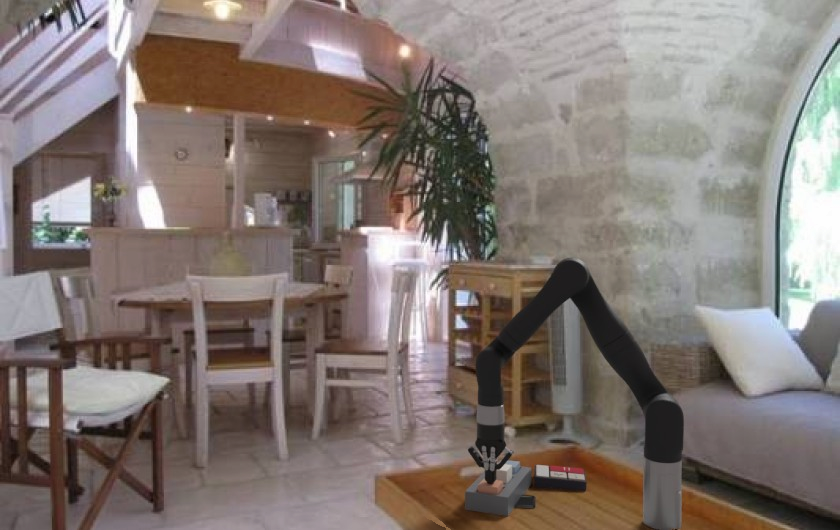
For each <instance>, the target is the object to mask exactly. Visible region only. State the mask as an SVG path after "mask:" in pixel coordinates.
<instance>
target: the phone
mask: <svg viewBox="0 0 840 530" xmlns="http://www.w3.org/2000/svg"><path fill="white" fill-rule="evenodd" d="M536 503H537V501H536V496H535V495H530V494H529V495H528V494H524V495H522V496H521V497H520V499H519V500H518V501H517V503H516V504H515V507H521V508H520V509H536V506H537V505H536ZM515 507H514V508H515Z"/></svg>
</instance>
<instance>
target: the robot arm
mask: <svg viewBox="0 0 840 530" xmlns="http://www.w3.org/2000/svg"><path fill="white" fill-rule="evenodd" d="M569 299H570V301H572V303H573V304H574V306H575V307H576V308H577V310H578V311H579V312H580V314H581V317H582V319H583V321H584V324H585V326H586V328H587V330H588V332H589V334H590V336H591V338H592V340H593V342H594V343H595V345H596V347H597V348H598V350H599V351H600V353H601V354H602V356H603V357H604V359H605V361H606V362H607V363H608V365H609V367H611V369H612V370H613V371H614V372H615V373H616V374H617V375H618V376H619V377H620V378H621V380H622V381H623V382H624V383H625V384H626V385H627V386H628V387H629V389H630V391H631V392H632V394H633V396H634V397H635V399H636V401H637V404H638V405H639V407H640V409H641V411H642V413H643V417H644V444H643V482H642V483H643V486H642V487H643V489H642V490H643V491H642V492H643V493H642V495H643V496H642V498H643V499H642V502H643V503H642V504H643V505H642V509H643V510H642V516H643V517H642V522H643V524H644V525H645V526H647V527H649V528H651V529H655V530H658V529H659V530H671V529H680V528H682V508H683V506H682V503H683V502H682V498H683V497H682V495H683V494H682V493H683V491H682V490H683V487H682V486H683V485H682V466H683V465H682V462H683V461H682V457H683V456H682V455H683V450H684V437H685V436H684V433H685V432H684V430H685V419H684V411H683V409H682V407H681V405H680V404H679V402H678V401H677V400H676V399H675V397H674V396H673V395H672V394H671V393H670V392H669V391H668V389H667V388H666V386H664V385H663V384H662V382H661V381H660V379H659V378H658V377H657V376H656V374H655V373H654V371H653V369H652V368H651V365H650V364H649V362H648V360H647V357H646V356H645V353H644V352H643V349H642V348H641V346H640V344H639V343H638V341H637V339H636V338H635V337H634V335H633V334H632V332H631V330H630V329H629V328H628V326H627V325H626V324H625V322H624V321H623V320H622V318H621V317H620V316H619V314H618V313H617V312H616V310H615V309H614V308H613V307H612V306H611V305H610V303H609V302H608V301H607V300H606V299H605V297H604V295H603V294H602V292H601V291H600V289H599V287H598V285H597V283H596V281H595V280H594V278H593V276H592V274H591V272H590V270H589V267H588V266H587V264H586V263H585V262H584V261H583V260H581V259H579V258H577V257H566V258H563V259H561V260H560V261H559V262H558V263H557V264H556V265H555V267H554V268H553V272H552V273H551V275H550V276H549V277H548V279H547V281H546V282H545V284H544V285H543V287H541V289H540V290H539V291H538V293H537V294H536V295H535V296H534V297H533V298H532V299H531V300H530V301H529V302H528V303H526V305H524V306H523V307H522V308H521V309H519V311H518V312H517V313H516V314H515V315H514V316H513V317H512V318H511V319H510V320H509V321H508V322H507V323H506V325H504V326H503V328H502V329H501V330H500V331H499V333H498V335H497V336H496V337H495V338H494V339H493V340H492V341H491V342H490V343H489V344H488V345H487V346H486V347H485V348H483V349H482V350H480V351H479V352H478V353H477V355H476V359H475V376H476V382H477V383H476V384H477V407H476V415H475V416H476V440H475V441H474V442H475V444H473V445H471V446H470V447H468V449H467V451H468V454H469V455H470V456H471V457H472V459H473V460H474V462H475V464H476V465H477V467H479V468H483V470H484V471H485V481H487V484H493V483H494V482H495V481H496V470H500V469H501V468H502V467H503V465H504V464H505V463H506V462H507V461H508V460H510V458H511V457H512V456H513V455H514V450H513V449H510V448H508V447H507V443H506V441H505V435H506V434H505V431H506V429H505V428H506V427H505V423H506V422H505V405H504V403H505V402H504V399H505V398H504V397H505V396H504V394H505V393H504V386H503V384H502V369H503V367H505V366H506V364H507V363H508V362H509V361H510V359H511V358H512V357H513V356H514V354H515V353H516V352H517V351H519V350H520V349H521V348H523V346H524V345H525V344H526V343H527V342H528V341H530V339H531V338H532V337H533V336H534V334H535V333H536V332H538V330H539V329H540V328H541V327H542V325H543V324H544V323H545V322H546V320H548V319H549V318H550V316H551V315H552V314H553V313H554V312H555V311H556V310H557V309H558V308H559V307H561V305H563V304H564V303H565V302H566V301H568V300H569ZM502 453H503V458H502V459H501V460H500V461H501V462H500V461H499V462H500V463H499V462H498V459H499V457H500V455H501V454H502ZM497 463H498V464H497ZM680 530H681V529H680Z"/></svg>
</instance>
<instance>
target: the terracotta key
mask: <svg viewBox="0 0 840 530" xmlns="http://www.w3.org/2000/svg"><path fill="white" fill-rule="evenodd" d="M502 490H503V481H500V480H496V481H495V482H494V483H493V484H487V481H485V478H484V479H483V480H482V481H481V482H480V483H479V484H478V492H481V493H488V494H495V495H499V494H500V493H501V492H502Z"/></svg>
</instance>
